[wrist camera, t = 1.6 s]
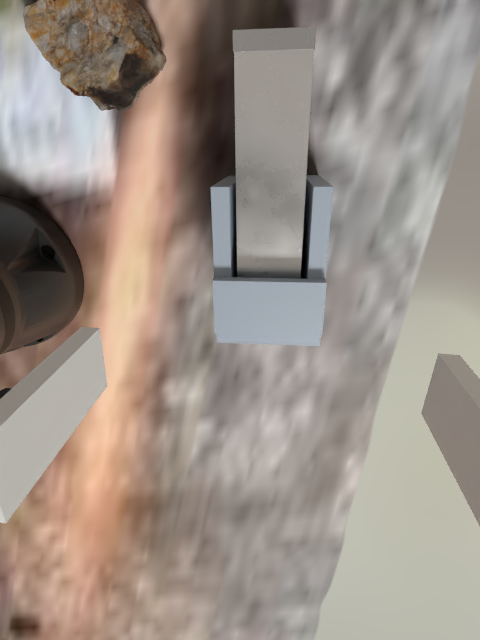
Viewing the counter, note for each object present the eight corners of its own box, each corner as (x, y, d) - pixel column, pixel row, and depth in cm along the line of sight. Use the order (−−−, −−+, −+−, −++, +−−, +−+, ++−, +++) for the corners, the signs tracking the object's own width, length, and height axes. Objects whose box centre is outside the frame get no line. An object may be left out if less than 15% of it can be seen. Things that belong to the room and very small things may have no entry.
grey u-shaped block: (231, 294, 38) (215, 347, 28) (229, 175, 34) (208, 188, 24) (309, 296, 38) (320, 351, 28) (318, 175, 33) (335, 188, 23)
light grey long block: (246, 282, 37) (237, 321, 29) (245, 62, 30) (232, 30, 21) (294, 283, 37) (298, 323, 28) (305, 60, 29) (315, 26, 21)
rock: (184, 43, 30) (73, -86, 26) (163, 56, 26) (26, -96, 22) (126, 124, 35) (24, 26, 31) (100, 146, 31) (-23, 36, 27)
